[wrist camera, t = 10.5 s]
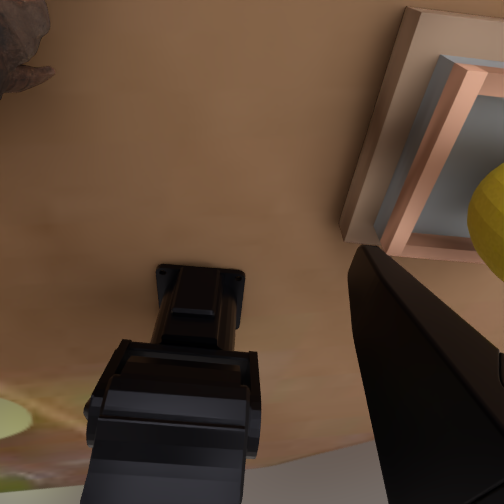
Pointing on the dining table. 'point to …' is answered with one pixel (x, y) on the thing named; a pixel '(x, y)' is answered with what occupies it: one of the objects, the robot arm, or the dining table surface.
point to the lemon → (489, 220)
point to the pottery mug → (22, 44)
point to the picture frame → (430, 137)
